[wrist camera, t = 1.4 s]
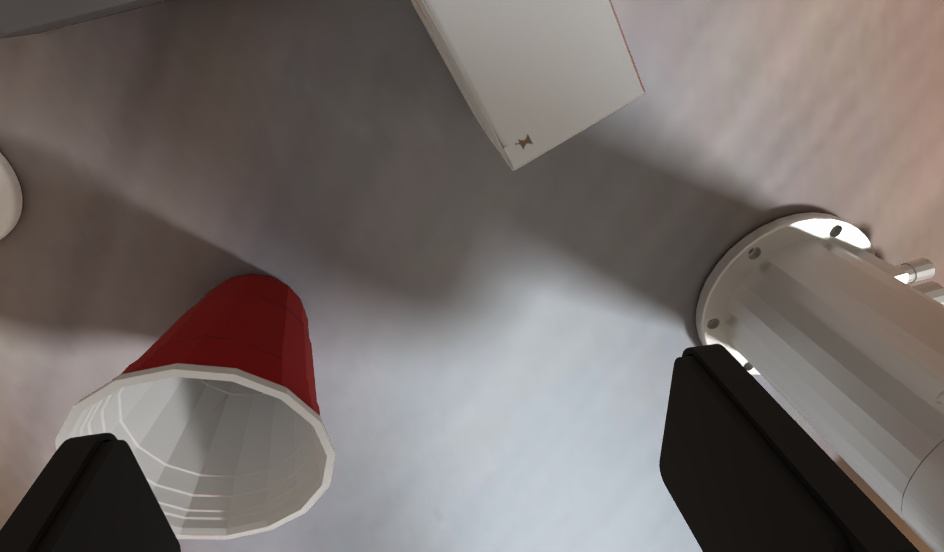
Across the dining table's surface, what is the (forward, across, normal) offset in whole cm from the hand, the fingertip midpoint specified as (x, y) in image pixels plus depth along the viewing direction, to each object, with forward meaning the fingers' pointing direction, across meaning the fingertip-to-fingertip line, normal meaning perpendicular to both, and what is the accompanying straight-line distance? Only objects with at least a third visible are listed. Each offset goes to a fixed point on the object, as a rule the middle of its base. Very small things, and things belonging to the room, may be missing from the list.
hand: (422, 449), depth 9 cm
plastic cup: (+22, +10, +10) cm, 26 cm away
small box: (+23, -5, -6) cm, 24 cm away
